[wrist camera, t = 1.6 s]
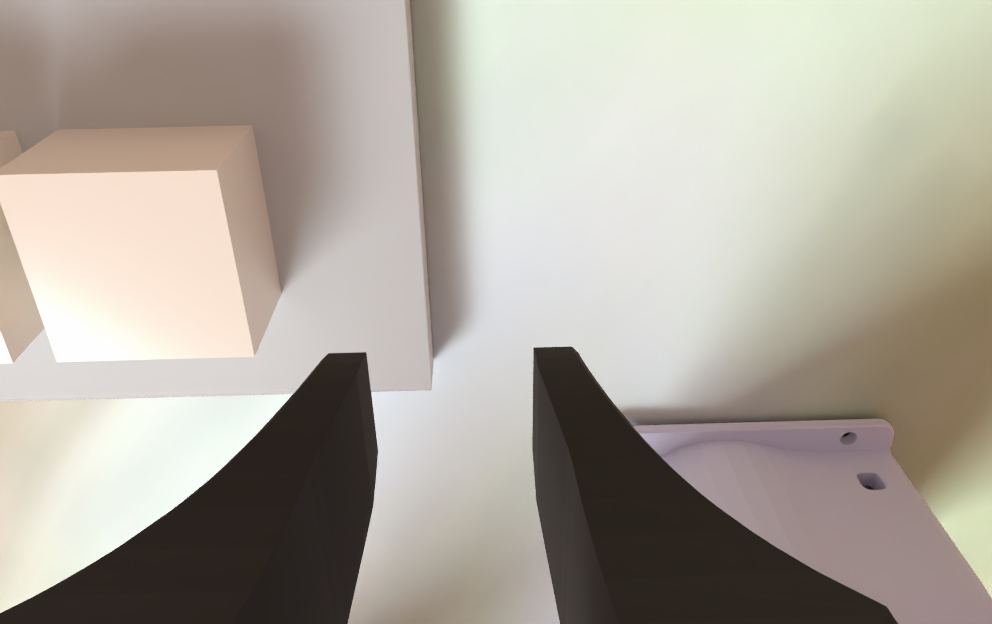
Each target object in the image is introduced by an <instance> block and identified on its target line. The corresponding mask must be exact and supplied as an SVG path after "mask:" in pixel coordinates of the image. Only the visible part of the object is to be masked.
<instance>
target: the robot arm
mask: <svg viewBox="0 0 992 624" xmlns="http://www.w3.org/2000/svg"><path fill="white" fill-rule="evenodd" d="M849 432H850V434H849V435H847V436H846V437H842V435H844V434H845V433H849ZM894 437H895V431H894V429H893V428H892V426H891V425H890V423H889V422H888V421H886V420H884V419H846V420H811V421H776V422H740V423H705V424H670V425H635V426H632V425H631V424H630V423H629V421H628V420H627V419H626V418H625V417H624V415H623V414H622V413H621V412H620V411H619V409H618V408H617V407H616V406H615V405H614V403H613V402H612V401H611V400H610V398H609V397H608V396H607V394H606V393H605V392H604V390H603V389H602V388H601V386H600V385H599V384H598V382H597V381H596V379H595V378H594V377H593V375H592V374H591V372H590V371H589V369H588V368H587V366H586V365H585V363H584V362H583V360H582V358H581V357H580V355H579V353H578V352H577V351H576V350H575V349H574V348H573V347H544V348H534V370H533V461H534V474H535V487H536V500H537V506H538V511H539V517H540V522H541V527H542V532H543V538H544V543H545V548H546V553H547V558H548V563H549V568H550V574H551V579H552V584H553V589H554V594H555V599H556V604H557V610H558V615H559V620H560V624H992V599H991V597H990V595H989V594H988V592H987V590H986V589H985V587H984V586H983V584H982V582H981V581H980V580H979V578H978V577H977V575H976V574H975V572H974V571H973V570H972V568H971V567H970V565H969V564H968V562H967V561H966V560H965V558H964V557H963V555H962V554H961V552H960V551H959V550H958V548H957V547H956V545H955V544H954V542H953V541H952V540H951V538H950V537H949V535H948V534H947V532H946V531H945V530H944V528H943V527H942V525H941V524H940V522H939V521H938V520H937V518H936V517H935V515H934V514H933V512H932V511H931V510H930V508H929V507H928V505H927V504H926V502H925V501H924V500H923V498H922V497H921V495H920V494H919V492H918V491H917V490H916V488H915V487H914V485H913V484H912V482H911V481H910V480H909V478H908V477H907V475H906V474H905V472H904V471H903V470H902V468H901V467H900V465H899V464H898V462H897V461H896V460H895V458H894V457H893V455H892V454H891V452H890V450H891V447H892V443H893V440H894ZM377 456H378V448H377V440H376V431H375V423H374V414H373V405H372V397H371V388H370V380H369V371H368V362H367V354H366V352H356V353H328V354H327V355H326V356H325V357H324V358H323V359H322V360H321V361H320V363H319V364H318V365H317V366H316V367H315V368H314V370H313V371H312V372H311V373H310V375H309V376H308V377H307V378H306V379H305V381H304V382H303V383H302V384H301V385H300V387H299V388H298V389H297V390H296V391H295V392H294V394H293V395H292V396H291V397H290V398H289V400H288V401H287V402H286V403H285V404H284V405H283V406H282V407H281V409H280V410H279V411H278V412H277V413H276V414H275V415H274V416H273V417H272V418H271V420H270V421H269V422H268V423H267V424H266V425H265V426H264V427H263V428H262V429H261V431H260V432H259V433H258V434H257V435H256V436H255V437H254V438H253V439H252V440H251V441H250V442H249V443H248V444H247V445H246V446H245V447H244V448H243V449H242V450H241V451H240V452H239V453H238V454H237V455H236V456H235V457H233V458H232V459H231V460H230V461H229V462H228V463H227V464H226V465H225V466H224V467H223V468H222V469H221V470H220V471H219V472H218V473H217V474H215V475H214V476H213V477H212V478H211V479H210V480H209V481H208V482H206V483H205V484H204V485H203V486H202V487H200V488H199V489H198V490H197V491H195V492H194V493H193V494H192V495H190V496H189V497H188V498H187V499H185V500H184V501H183V502H182V503H180V504H179V505H178V506H177V507H175V508H174V509H173V510H171V511H170V512H169V513H167V514H166V515H164V516H163V517H161V518H160V519H158V520H157V521H156V522H154V523H153V524H151V525H150V526H148V527H147V528H146V529H144V530H143V531H141V532H140V533H138V534H137V535H135V536H134V537H133V538H131V539H130V540H128V541H127V542H125V543H124V544H123V545H121V546H120V547H118V548H116V549H115V550H113V551H112V552H110V553H109V554H107V555H105V556H104V557H102V558H100V559H99V560H97V561H96V562H94V563H92V564H91V565H89V566H87V567H86V568H84V569H82V570H81V571H79V572H77V573H75V574H74V575H72V576H70V577H68V578H67V579H65V580H63V581H61V582H60V583H58V584H56V585H54V586H53V587H51V588H49V589H47V590H45V591H43V592H42V593H40V594H38V595H36V596H34V597H32V598H30V599H28V600H26V601H24V602H22V603H20V604H18V605H16V606H14V607H12V608H10V609H8V610H6V611H4V612H2V613H0V624H347V623H348V618H349V614H350V609H351V605H352V600H353V596H354V591H355V587H356V582H357V578H358V573H359V569H360V564H361V559H362V555H363V550H364V546H365V541H366V537H367V532H368V527H369V523H370V518H371V513H372V508H373V501H374V490H375V480H376V468H377Z"/></svg>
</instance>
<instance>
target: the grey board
mask: <svg viewBox="0 0 992 624" xmlns="http://www.w3.org/2000/svg"><path fill="white" fill-rule="evenodd" d="M244 125H253V131H254V137H255V142H256V148H257V154H258V160H259V166H260V171H261V177H262V183H263V189H264V194H265V200H266V206H267V212H268V217H269V223H270V229H271V235H272V240H273V246H274V252H275V258H276V263H277V269H278V275H279V281H280V287H281V292H282V294H281V296H280V299H279V301H278V303H277V306H276V308H275V310H274V313H273V315H272V317H271V320H270V322H269V324H268V327H267V329H266V331H265V334H264V336H263V338H262V341H261V343H260V345H259V348H258V350H257V352H256V355H255V357H228V358H191V359H153V360H116V361H78V362H57V360H56V358H55V355H54V352H53V349H52V346H51V344H50V341H49V338H48V335H47V332H46V330H45V328H44V329H43V330H42V331H41V333H40V334H39V335H38V336H37V337H36V338H35V339H34V340H33V341H32V343H31V344H30V345H29V346H28V347H27V348H26V349H25V350H24V352H23V353H22V354H21V355H20V356H19V357H18V358H17V359H16V360H15V362H14V363H3V364H0V402H13V401H50V400H86V399H122V398H159V397H195V396H232V395H268V394H294V392H295V391H296V390H297V389H298V388H299V387H300V385H301V384H302V383H303V382H304V381H305V379H306V378H307V377H308V376H309V375H310V373H311V372H312V371H313V370H314V368H315V367H316V366H317V365H318V364H319V363H320V361H321V360H322V359H323V358H324V357H325V356H326V355H327V354H328V353H356V352H366V354H367V362H368V371H369V380H370V388H371V392H378V391H414V390H431V387H432V374H433V346H432V330H431V315H430V300H429V284H428V269H427V253H426V238H425V222H424V207H423V192H422V176H421V161H420V145H419V130H418V114H417V99H416V84H415V68H414V53H413V37H412V22H411V7H410V0H0V131H12V130H15V132H16V135H17V138H18V141H19V144H20V147H21V150H22V153H24V152H26V151H27V150H29V149H30V148H32V147H33V146H35V145H36V144H38V143H39V142H41V141H42V140H43V139H45V138H46V137H48V136H49V135H51V134H52V133H54V132H55V131H57V130H58V129H105V128H151V127H197V126H244Z"/></svg>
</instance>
